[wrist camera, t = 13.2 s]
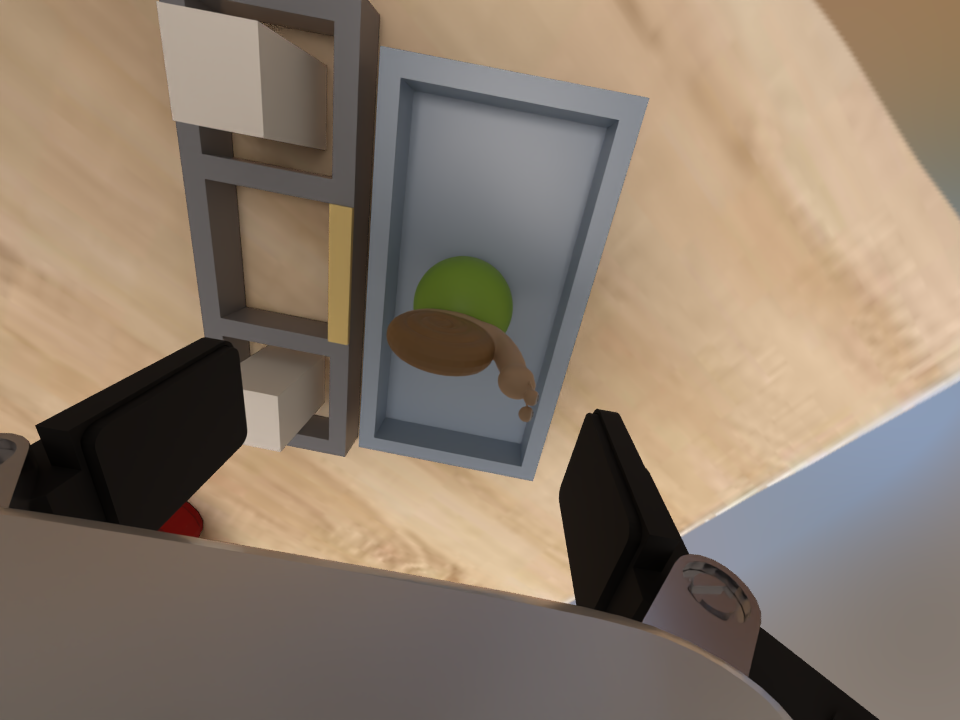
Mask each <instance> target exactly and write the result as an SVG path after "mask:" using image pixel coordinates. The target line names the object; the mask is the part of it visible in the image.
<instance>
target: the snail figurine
mask: <svg viewBox="0 0 960 720" xmlns="http://www.w3.org/2000/svg"><path fill="white" fill-rule="evenodd" d="M413 309H414V310H411V311H407V312H405V313H403V314H400V315H398V316H397V317H395V318H394V319H393V320H392V321H391V323H390V324H389V326H388V328H387V341H388V344H389V346H390V348H391V349H392V351H393V352H394V353H395V354H396V355H397V356H398V357H399V358H400V359H401V360H403V361H404V362H406V363H408V364H409V365H411V366H413V367H415V368H418V369H420V370H423V371H426V372H429V373H433V374H437V375H443V376H455V377H458V376H469V375H473V374H477V373H479V372H481V371H483V370H484V369H486V368H487V367H488V366H489V365H490V363H491V362H492V360H494V361H495V364H496V366H497V368H498V370H499V372H500V374H499V376H498V386H499V388H500V390H501V391H502V393H503V394H504V395H506V396H507V397H509V398H511V399H516V400H519V399H524V401H525V403H526V406H524V407H522V408H521V409H520V410H519V413H518V415H519V418H520V419H521V420H522V421H523V422H529V421H531V419H532V417H533V409H532V408H531V407H528V405H529V406H534V405H536V404H537V402H538V399H539V394H538V392H537V391H535V387H536V384H535V380H534V375H533V373H532V372H531V371H530V370H529V369H528V368H527V367H526V364H525V361H524V358H523V356H522V354H521V352H520V350H519V349H518V347H517V346H516V344H515V343H514V342H513V341H512V339H511V338H510V337H509V336H508V335H506V334H505V333H506V331H507V329H508V327H509V325H510V322H511V318H512V313H513V300H512V295H511V291H510V288H509V286H508V284H507V282H506V280H505V279H504V277H503V276H502V274H501V273H500V272H499V271H498V270H497V269H496V268H495V267H493V266H492V265H491V264H489V263H487V262H486V261H484V260H481V259H478V258H475V257H470V256H456V257H451V258H447V259H445V260H442V261H440V262H438V263H437V264H435V265H434V266H432V267H431V268H430V269H429V270H428V271H427V272H426V273H425V274H424V276H423V277H422V278H421V280H420V282H419V284H418V286H417V288H416V291H415V295H414V302H413Z"/></svg>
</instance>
